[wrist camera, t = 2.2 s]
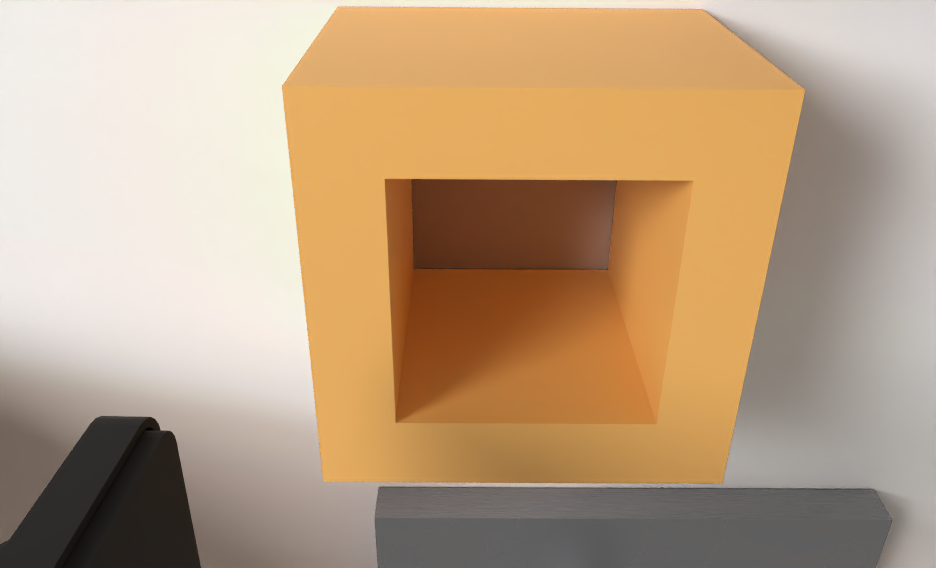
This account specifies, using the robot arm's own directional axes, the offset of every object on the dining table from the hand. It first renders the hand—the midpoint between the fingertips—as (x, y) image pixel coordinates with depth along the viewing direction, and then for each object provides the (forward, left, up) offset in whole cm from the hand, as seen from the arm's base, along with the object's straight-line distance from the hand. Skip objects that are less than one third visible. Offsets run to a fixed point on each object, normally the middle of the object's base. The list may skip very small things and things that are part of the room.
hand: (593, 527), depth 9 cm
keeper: (+15, +2, -8) cm, 17 cm away
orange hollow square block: (-1, -1, -8) cm, 8 cm away
